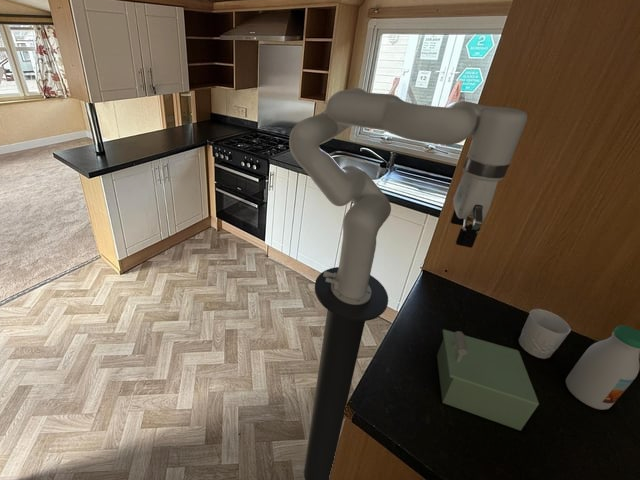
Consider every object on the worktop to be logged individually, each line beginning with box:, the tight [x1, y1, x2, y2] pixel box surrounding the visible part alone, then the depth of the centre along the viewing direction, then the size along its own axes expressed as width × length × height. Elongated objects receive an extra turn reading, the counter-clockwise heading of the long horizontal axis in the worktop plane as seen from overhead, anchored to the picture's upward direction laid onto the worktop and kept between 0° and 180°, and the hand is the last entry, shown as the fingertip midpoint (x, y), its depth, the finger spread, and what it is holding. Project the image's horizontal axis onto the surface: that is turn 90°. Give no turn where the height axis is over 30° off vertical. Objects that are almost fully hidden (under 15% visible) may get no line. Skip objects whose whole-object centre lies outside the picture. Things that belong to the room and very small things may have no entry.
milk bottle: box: [565, 324, 640, 411], centre depth 68 cm, size 8×8×20 cm
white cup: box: [518, 308, 572, 360], centre depth 81 cm, size 8×8×10 cm
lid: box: [442, 328, 540, 407], centre depth 68 cm, size 15×13×5 cm
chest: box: [436, 338, 538, 432], centre depth 71 cm, size 15×13×9 cm
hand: (460, 234), depth 74 cm, fingers open, 9 cm apart
